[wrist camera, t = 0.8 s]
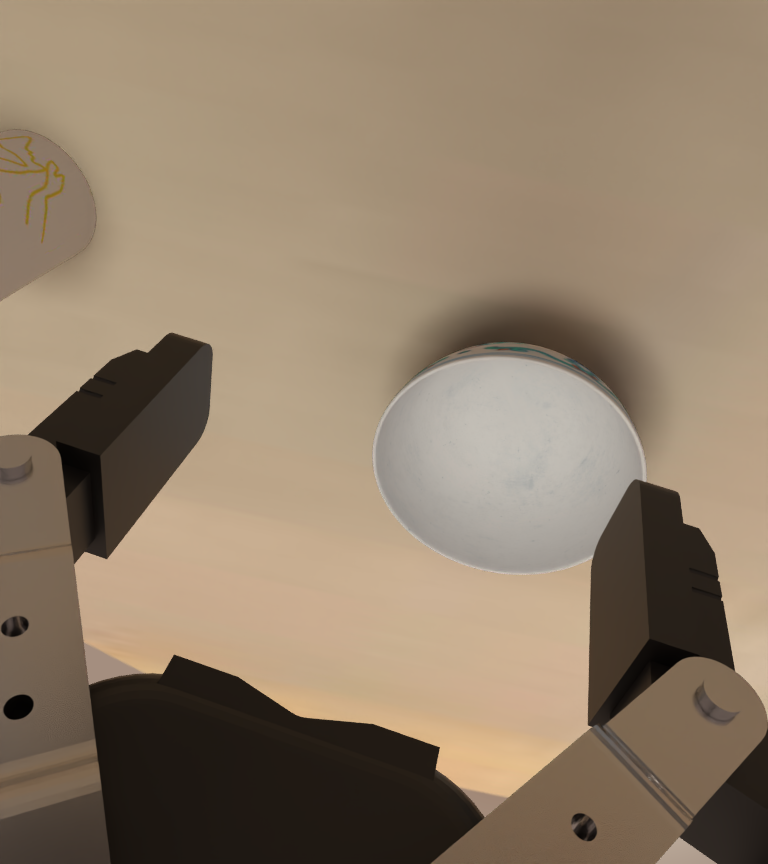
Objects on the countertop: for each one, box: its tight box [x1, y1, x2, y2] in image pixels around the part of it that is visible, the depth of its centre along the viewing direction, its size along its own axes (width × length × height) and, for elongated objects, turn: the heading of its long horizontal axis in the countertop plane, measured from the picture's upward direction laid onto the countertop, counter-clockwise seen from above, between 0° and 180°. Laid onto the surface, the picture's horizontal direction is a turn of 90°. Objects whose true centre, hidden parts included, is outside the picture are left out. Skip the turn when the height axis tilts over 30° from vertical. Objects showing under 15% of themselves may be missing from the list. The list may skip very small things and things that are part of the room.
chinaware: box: [372, 342, 647, 575], centre depth 43 cm, size 15×15×8 cm
